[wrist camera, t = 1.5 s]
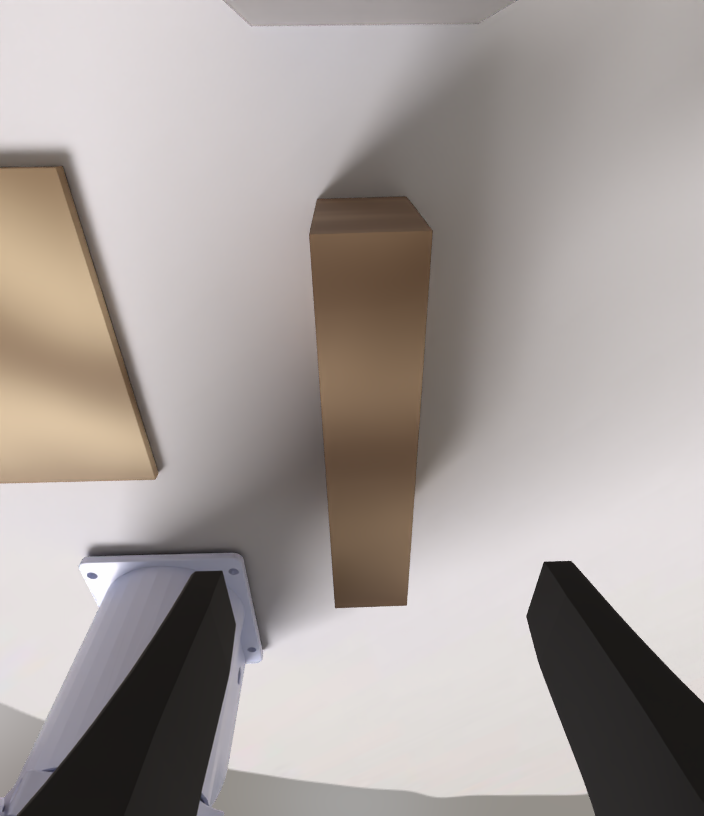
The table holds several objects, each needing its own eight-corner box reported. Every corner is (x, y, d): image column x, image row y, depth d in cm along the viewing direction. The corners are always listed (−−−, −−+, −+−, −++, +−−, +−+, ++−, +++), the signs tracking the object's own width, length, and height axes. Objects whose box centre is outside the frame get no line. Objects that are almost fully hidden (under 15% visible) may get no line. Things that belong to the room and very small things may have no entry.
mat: (158, 473, 20) (155, 479, 20) (-27, 477, 20) (-33, 484, 20) (62, 166, 14) (56, 168, 14) (-211, 170, 14) (-225, 172, 13)
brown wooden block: (393, 511, 22) (406, 605, 18) (335, 513, 22) (335, 608, 18) (405, 195, 15) (432, 230, 11) (317, 197, 15) (309, 234, 11)
